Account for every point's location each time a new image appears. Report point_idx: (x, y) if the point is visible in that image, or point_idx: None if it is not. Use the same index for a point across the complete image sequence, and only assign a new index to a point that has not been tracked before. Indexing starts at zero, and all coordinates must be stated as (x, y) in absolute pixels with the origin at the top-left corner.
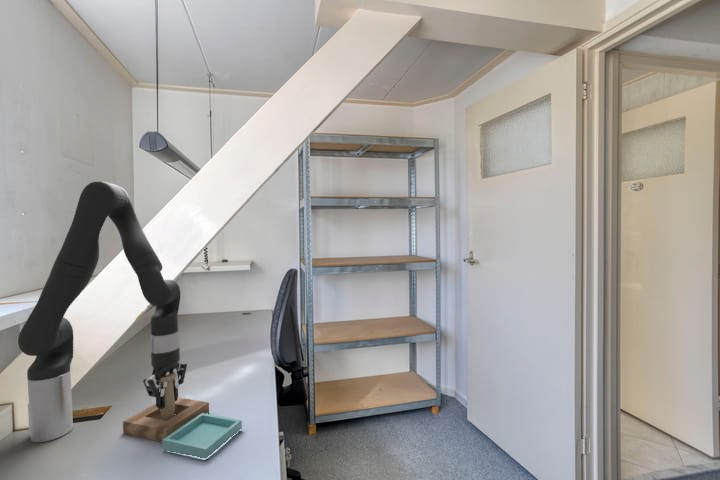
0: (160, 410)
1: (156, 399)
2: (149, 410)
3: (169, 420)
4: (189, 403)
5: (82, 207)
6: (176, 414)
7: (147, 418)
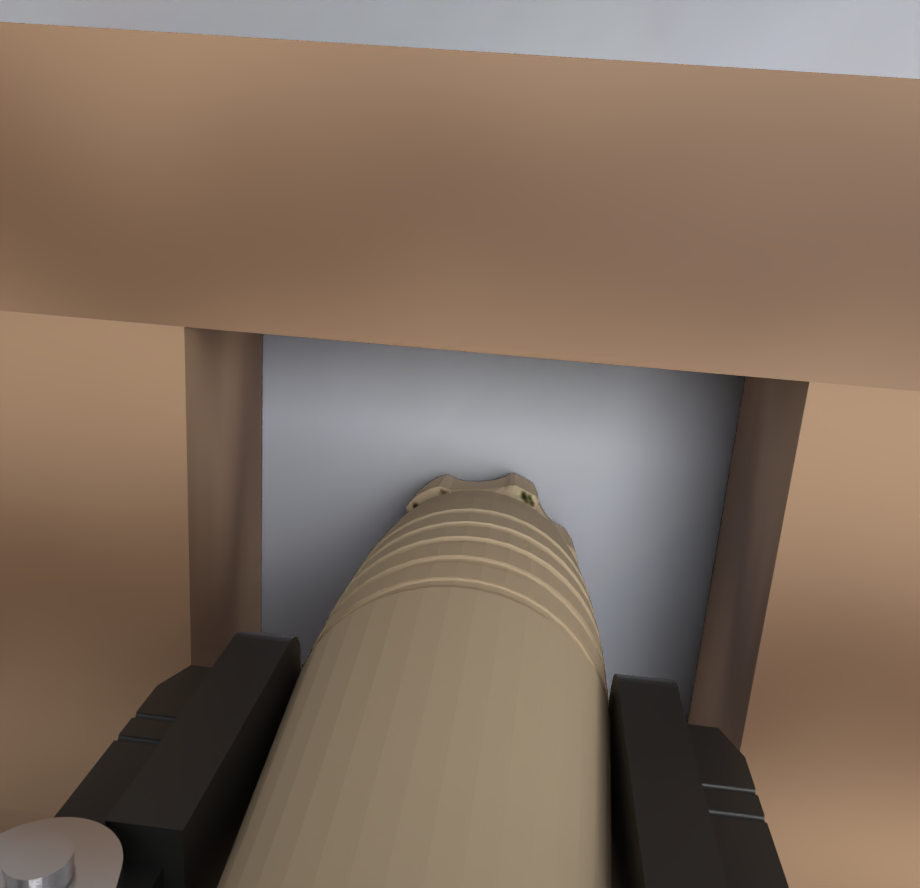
0: (352, 582)
1: (72, 816)
2: (414, 217)
3: None
4: (828, 825)
5: None
6: (727, 506)
7: (151, 446)
